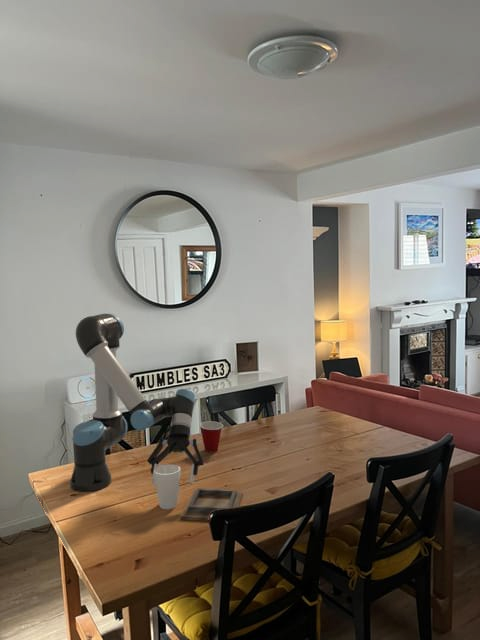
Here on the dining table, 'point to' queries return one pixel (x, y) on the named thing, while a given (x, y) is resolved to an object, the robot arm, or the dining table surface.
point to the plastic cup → (211, 435)
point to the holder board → (210, 502)
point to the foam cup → (167, 485)
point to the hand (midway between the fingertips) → (172, 483)
